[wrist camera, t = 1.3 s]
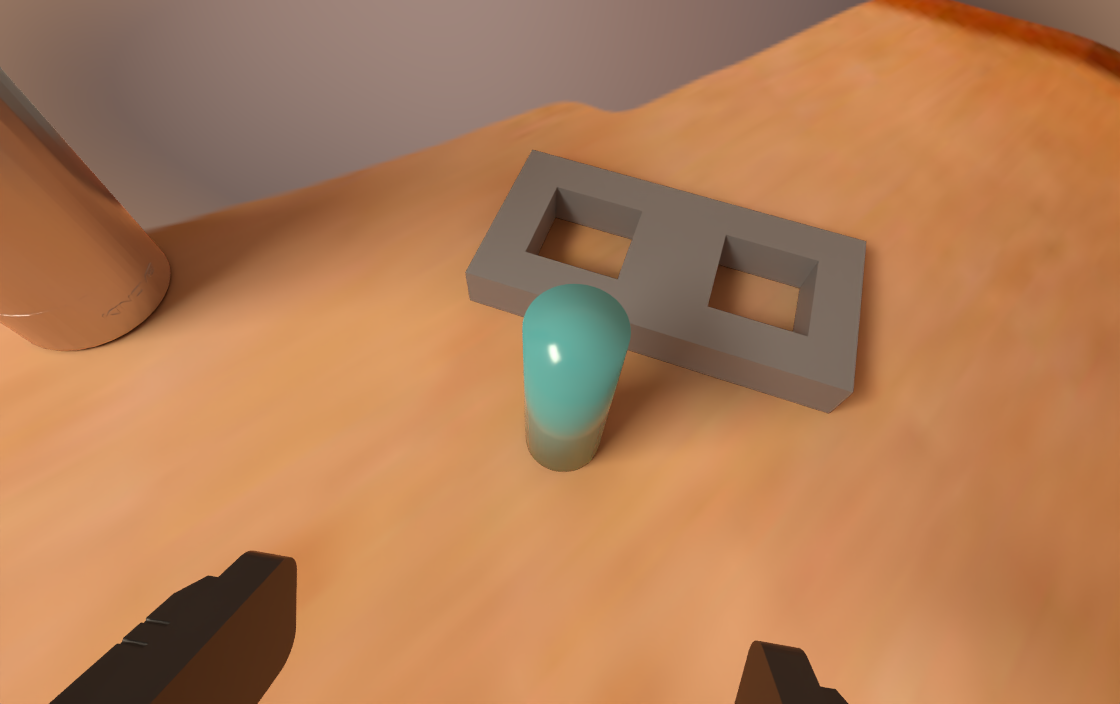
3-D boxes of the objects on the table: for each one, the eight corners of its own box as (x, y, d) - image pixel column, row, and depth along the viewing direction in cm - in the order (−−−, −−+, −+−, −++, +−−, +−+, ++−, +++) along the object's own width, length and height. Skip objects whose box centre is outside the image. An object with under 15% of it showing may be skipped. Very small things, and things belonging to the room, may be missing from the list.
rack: (470, 300, 38) (465, 272, 35) (532, 180, 43) (532, 149, 41) (829, 413, 34) (853, 392, 32) (844, 269, 40) (866, 241, 38)
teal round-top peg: (514, 457, 32) (506, 355, 22) (540, 392, 34) (544, 271, 24) (586, 482, 32) (613, 390, 21) (608, 415, 34) (642, 301, 23)
